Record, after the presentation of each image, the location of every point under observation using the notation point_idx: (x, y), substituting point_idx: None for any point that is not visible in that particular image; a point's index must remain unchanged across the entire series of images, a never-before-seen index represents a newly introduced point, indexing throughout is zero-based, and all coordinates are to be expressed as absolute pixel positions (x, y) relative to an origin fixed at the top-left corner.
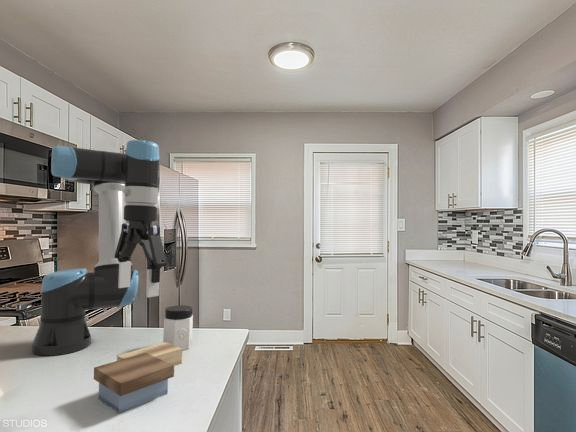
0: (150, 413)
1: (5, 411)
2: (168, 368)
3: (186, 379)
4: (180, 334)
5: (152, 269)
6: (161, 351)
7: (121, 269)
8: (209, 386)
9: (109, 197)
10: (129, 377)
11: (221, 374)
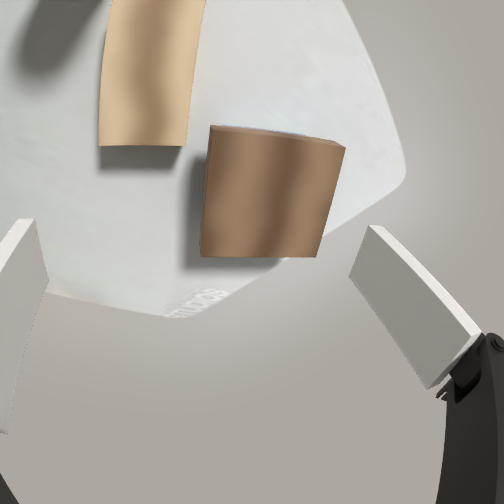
0: None
1: (140, 311)
2: (341, 161)
3: (289, 66)
4: None
5: (452, 367)
6: (172, 45)
7: (14, 376)
8: (352, 72)
9: None
10: (309, 237)
11: (337, 14)
